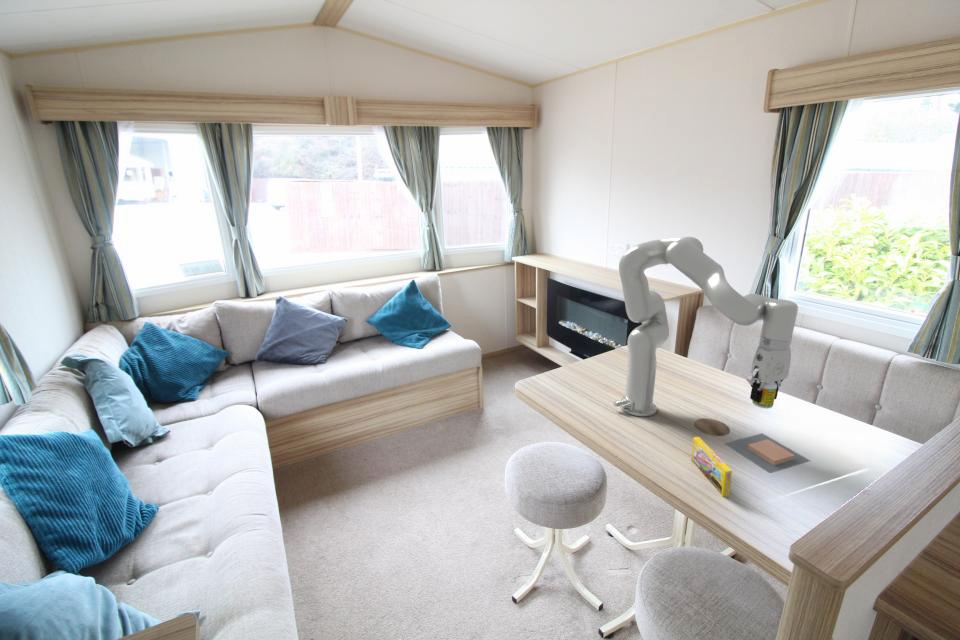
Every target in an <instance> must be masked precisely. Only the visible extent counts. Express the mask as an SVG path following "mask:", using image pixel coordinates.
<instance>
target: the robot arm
mask: <svg viewBox="0 0 960 640" xmlns="http://www.w3.org/2000/svg"><path fill="white" fill-rule="evenodd" d="M667 264H668V265H669V264H671V266H673V267H674V268H675V269H677V270H678V271H680V273H682V274H683V275H684V276H685V277H686V278H688V279H689V280H691V281H692V282H693V283H694V284H695V285H696V286H698V287H699V288H700V289H701V291H702V293H703V294H704V296H705V297H706V298H707V300H708V301H709V303H711V305H712V306H713V307H714V308H715V309H716V310H717V311H718V312H720V313H721V314H722V315H723V316H725V318H727V319H729V320H730V321H731V322H733V323H735V324H737V325H739V326H745V327H746V326H747V327H748V326H751V325H753V324H755V323H757V322H758V321H759V320H762V327H761V332H760V337H759V342H758V346H757V349H756V351H755V353H754V356H753V359H752V363H751V368H750V374H749V376H747V377H746V382H748V384H749V385H750V387H751V392H750V396H749V399H750V400H751V401H752V400H754V401H756V402H757V403H760V402H761V398H762V393H763V391H762V388H763V385H764V383H770V382H775V383H776V384H777V389H776V394H775V399H774V400H777V396H778V394H779V393H778V392H779V388H780V387H781V386H782V382H783V381H784V380H786V379H787V378H788V376H789V372H790V368H791V367H790V366H791V359H792V349H791V343H792V338H793V335H794V334H793V333H794V329H795V324H796V321H797V316H798V311H799V307H798V304H797V303H796V302H794V301H791V300H788V299H780V298H777V299H776V298H773V297H768V296H766V295H762V294H758V293H749V294H745V295H742V294H740V293H739V292H738V291H736V290H735V288H733V287H732V285H730V283H729V282H728V280H727V278H726V275H725V271H724V269H723V266H722V265H721V264H720V263H718V262H716V261H715V260H714V259H712V258H711V257H710V256H709V255H707V254H706V253H705V252H704V246H703V243H702V242H701V241H700V240H699V239H698V238H696V237H693V236H685V237H684V236H683V237H677V238H676V237H675V238H665V239H655V240H653V239H652V240H650V241H646V242H641V243H639V244H637V245H633V246H632V247H630V248H628V250H626V251H625V252H624V253H623V255H622V256H621V258H620V260H619V262H618V272H619V278H620V282H621V286H622V293H623V300H624V306H625V312H626V314H627V317H628V319H629V320H630V321H631V322H633V323H637V324H639V323H641V324H640V325H638V326H637V327H635V328H633V330H632V331H631V332H630V334H629V335H628V337H627V350H628V352H627V353H628V354H627V355H628V357H627V359H628V362H627V370H626V371H627V374H626V382H625V383H626V384H625V386H626V387H625V395H623V396H622V398H621V399H620V400H616V401H613V406H614V407H615V408H616V407H620V409H621V410H622V411H623V412H624V413H627V414H629V415H631V416H636V417H650V416H653V415H655V414H656V413H657V410H658V407H657V405H656V404H655V403H654V402H653V401H654V392H655V384H656V375H657V364H658V363H657V355H656V354H657V353H656V351H657V349H658V348H659V347H660V346H662V345H664V344H665V343H666V342H667V340H668V338H669V337H670V328H669V327H670V326H669V321H668V314H667V308H666V303H665V301H664V299H663V297H662V296H661V294H660V293H659V292H657V291H655V290H650V287H649V281H648V278H647V276H646V274H645V270H646V269H649V268H653V267H655V266H659V265H667ZM757 381H760V384H759V385H758V384H757Z"/></svg>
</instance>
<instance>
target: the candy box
mask: <svg viewBox="0 0 960 640" xmlns="http://www.w3.org/2000/svg"><path fill="white" fill-rule="evenodd" d="M691 462H692V463H693V465H695V467H696V468H697V467H698V468H697V469H698V470H699V471H700V472H701V473H702V474H703V476H704V477H705V478H706V480H708V481H709V482H710V484H711V485H712V487H714V489H715V490H716V491H718V493H719V494H720V495H721V496H722V497H723V498H724V497H727V498H728V497H729V496H730V490H731V489H730V488H731V483H732V482H731V481H732V473H733V470H732V469H731V468H730V467H729V466H728V464H727V463H725V461H723V460H722V459H721V458H720V457H719V456H718V454H717V453H715V452H714V450H713V449H712V448H710V447H709V445H708V444H707V443H705V441H704V440H703V439H701V437H700V436H696V437H695V436H694V437H693V439H692V450H691Z"/></svg>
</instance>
